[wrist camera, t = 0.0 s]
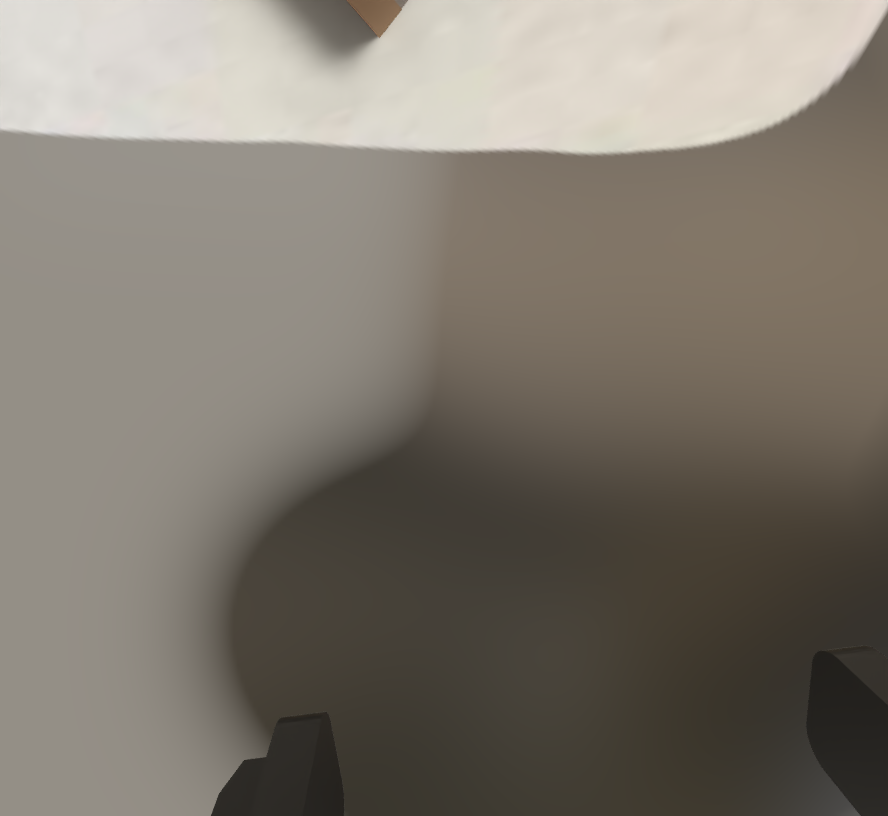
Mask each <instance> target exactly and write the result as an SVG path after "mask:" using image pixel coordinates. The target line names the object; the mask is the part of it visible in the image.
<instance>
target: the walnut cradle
mask: <svg viewBox="0 0 888 816" xmlns="http://www.w3.org/2000/svg"><path fill="white" fill-rule="evenodd" d="M347 1H348V3H349V4H350V5H351V6H352V7H353V8H354V10H355V11H356V12H357V13H358V14H359V15H360V16H361V18H362V19H363V20H364V21H365V22H366V23H367V24H368V26H369V27H370V28H371V29H372V30H373V31H374V32H375V34H376V35H377V36H378V37H379V38H380V37H381V35H382V34H383V33H384V32H385V30H386V29H387V28H388V26H389V25H390V24H391V23H392V21H393V20H394V19H395V18H396V16H397V15H398V14H399V13H400V11H401V10H402V9H401V8H402V7H403V6H404V5H405V3H406V2H407V1H408V0H347Z"/></svg>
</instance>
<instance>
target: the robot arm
mask: <svg viewBox="0 0 888 816" xmlns="http://www.w3.org/2000/svg"><path fill="white" fill-rule="evenodd" d="M806 727H807V735H808V739H809V742H810V745H811V748H812V750H813V752H814V755H815V756H816V758H817V760H818V762H819V764H820V765H821V767H822V768H823V769H824V771H825V772H826V773H827V774H828V776H829V777H830V778H831V779H832V781H833V782H834V783H835V784H836V786H837V787H838V788H839V789H840V791H841V792H842V793H843V794H844V796H845V797H846V798H847V799H848V801H849V802H850V803H851V804H852V805H853V807H854V808H855V809H856V810H857V812H858V813H859V814H860V815H861V816H888V658H887V657H885V656H884V655H883V654H882V653H881V652H879V651H878V650H876V649H875V648H873V647H870V646H866V645H863V646H855V647H847V648H839V649H831V650H823V651H819V652H817V653H816V654H815V655H814V657H813V660H812V669H811V680H810V690H809V700H808V711H807V722H806ZM211 816H344V790H343V783H342V777H341V772H340V767H339V761H338V756H337V751H336V746H335V741H334V736H333V731H332V725H331V720H330V717H329V714H328V713H327V712H320V713H312V714H304V715H296V716H287V717H281V718H280V719H279V720H278V722H277V724H276V727H275V730H274V733H273V736H272V740H271V743H270V746H269V750H268V753H267V757H265V758H257V759H250V760H244V761H243V762H242V764H241V765H240V766H239V768H238V769H237V770H236V772H235V773H234V774H233V776H232V777H231V778H230V780H229V781H228V783H227V784H226V785H225V787H224V788H223V789H222V791H221V792H220V793H219V795H218V798H217V801H216V804H215V806H214V809H213V812H212V814H211Z"/></svg>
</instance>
